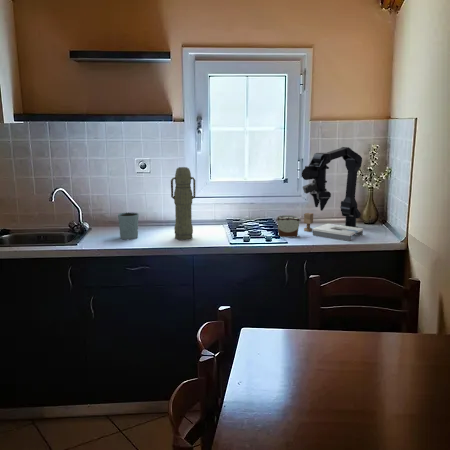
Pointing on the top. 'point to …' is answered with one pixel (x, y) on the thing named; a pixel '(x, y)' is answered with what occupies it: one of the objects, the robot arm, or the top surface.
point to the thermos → (183, 203)
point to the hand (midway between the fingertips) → (318, 208)
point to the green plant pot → (128, 225)
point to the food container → (288, 225)
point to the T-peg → (308, 221)
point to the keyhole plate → (337, 231)
